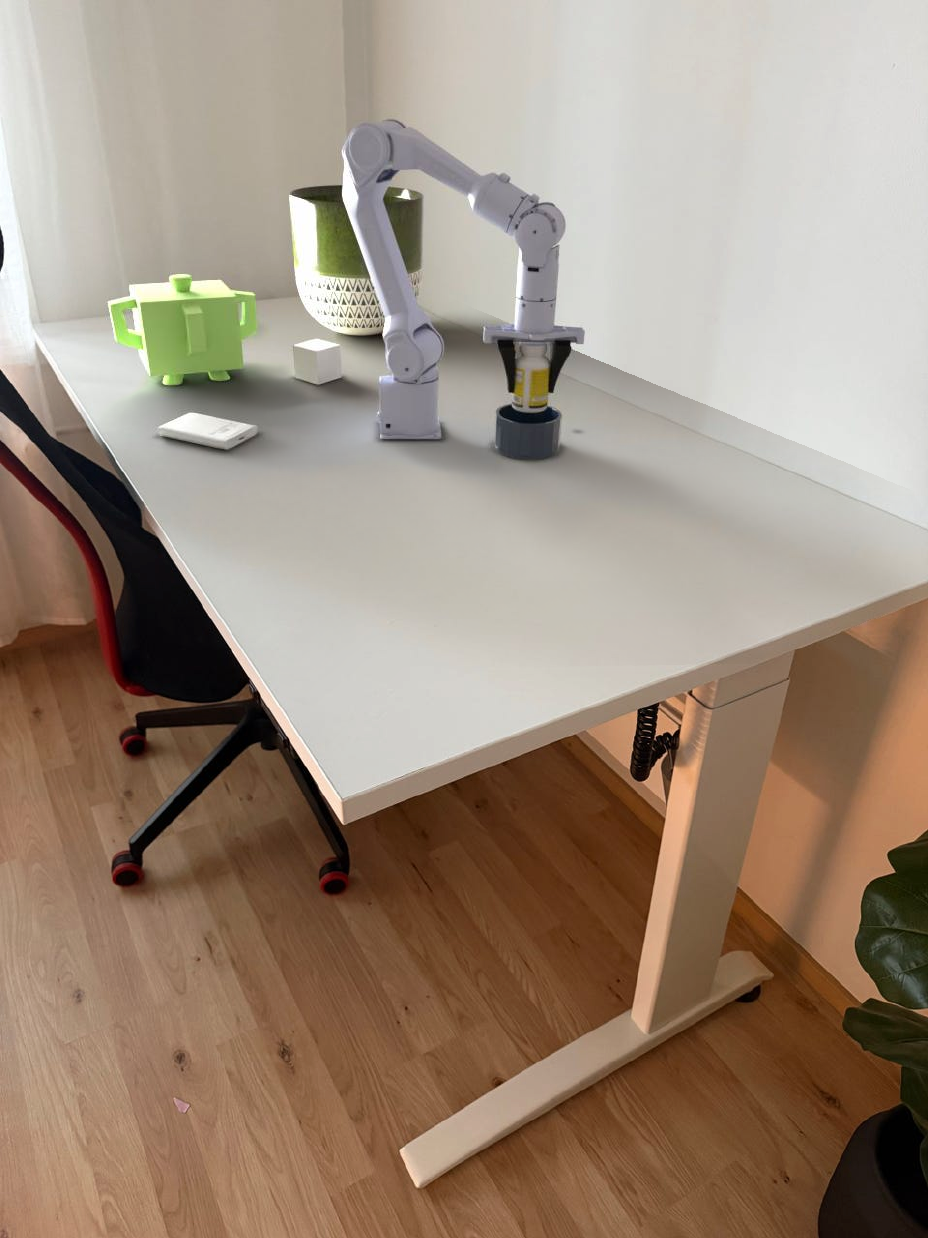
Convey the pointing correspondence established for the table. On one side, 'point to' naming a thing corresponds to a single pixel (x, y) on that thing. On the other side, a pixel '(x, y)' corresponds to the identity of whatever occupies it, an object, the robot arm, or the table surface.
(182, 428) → the hard drive
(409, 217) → the planter
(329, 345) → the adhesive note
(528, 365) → the supplement bottle
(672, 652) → the table surface
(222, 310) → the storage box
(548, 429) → the dark grey hollow cylinder
